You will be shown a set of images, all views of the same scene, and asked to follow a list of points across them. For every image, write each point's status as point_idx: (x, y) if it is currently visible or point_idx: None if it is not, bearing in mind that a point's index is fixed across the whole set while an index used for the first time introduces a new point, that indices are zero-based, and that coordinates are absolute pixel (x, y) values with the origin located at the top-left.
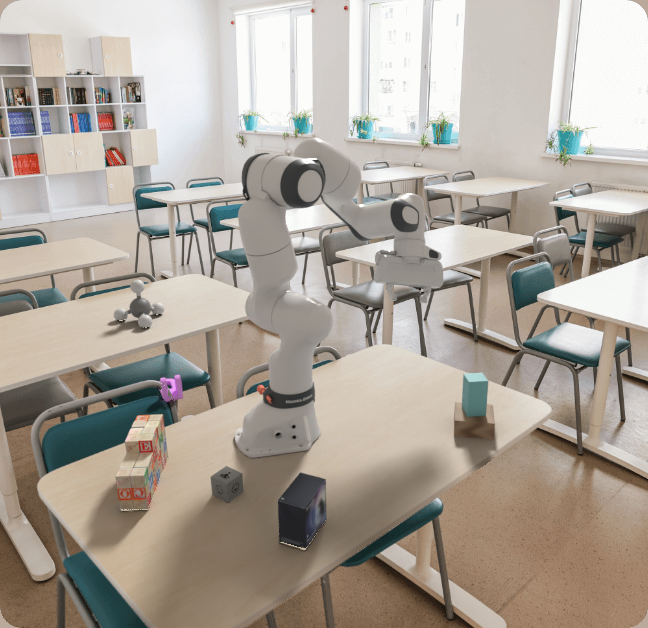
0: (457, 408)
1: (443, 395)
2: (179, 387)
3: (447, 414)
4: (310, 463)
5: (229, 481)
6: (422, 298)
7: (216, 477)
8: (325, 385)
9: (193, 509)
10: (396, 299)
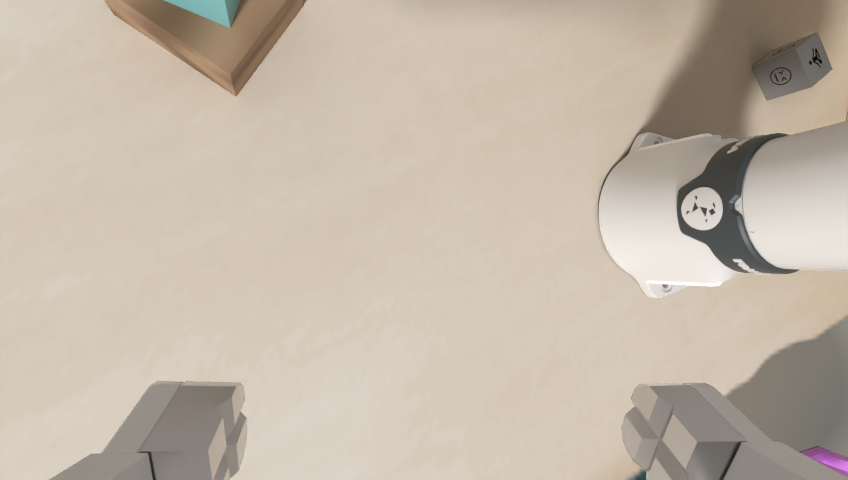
0: (249, 31)
1: (181, 244)
2: (830, 467)
3: (247, 121)
4: (647, 87)
5: (813, 37)
6: (223, 425)
7: (826, 61)
8: (515, 438)
9: None
10: (649, 384)
